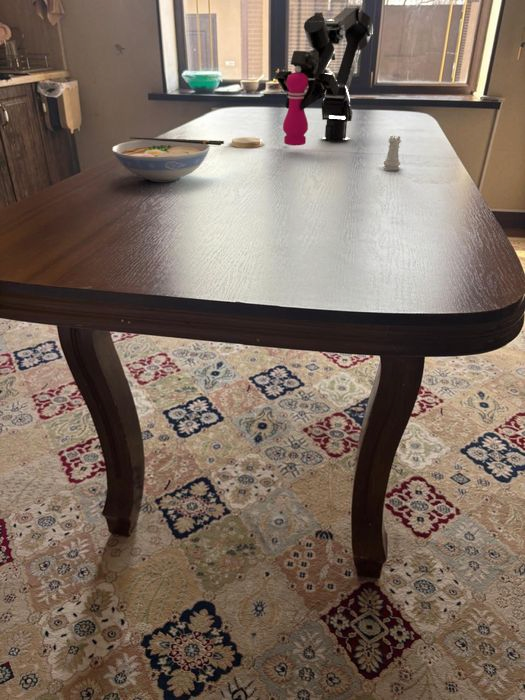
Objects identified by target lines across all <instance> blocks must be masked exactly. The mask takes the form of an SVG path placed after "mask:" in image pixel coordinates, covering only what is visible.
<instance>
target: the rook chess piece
mask: <svg viewBox="0 0 525 700" xmlns="http://www.w3.org/2000/svg"><path fill="white" fill-rule="evenodd" d="M388 143H389V145H388V153H387V156H386V158H385V160H384V161H383V163H382V164H383V166H382V168H383V170H384V171H387V172H397V171H399V170H400V169H401V167H400V165H401V162H400V159H399V149H400V143H402V139H401V136H400V135H391V136H390V137H389V139H388Z"/></svg>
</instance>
